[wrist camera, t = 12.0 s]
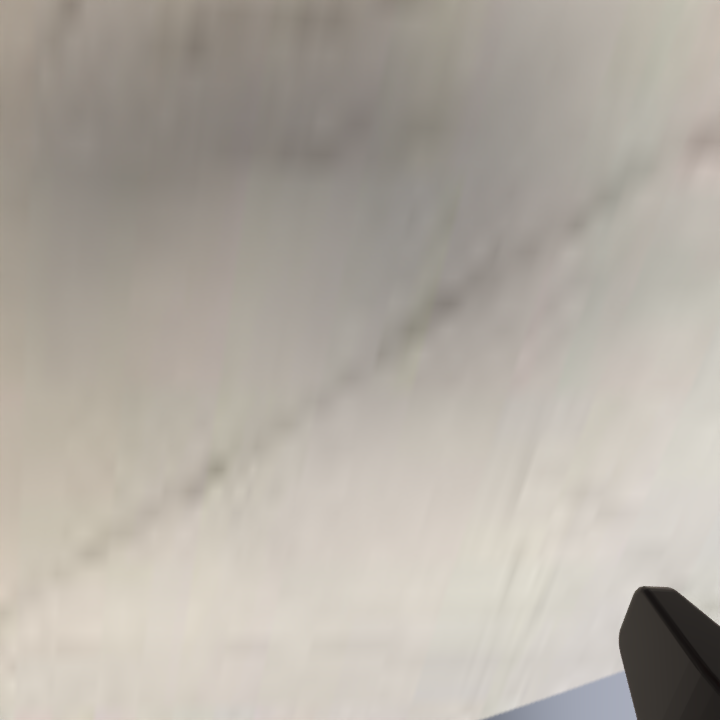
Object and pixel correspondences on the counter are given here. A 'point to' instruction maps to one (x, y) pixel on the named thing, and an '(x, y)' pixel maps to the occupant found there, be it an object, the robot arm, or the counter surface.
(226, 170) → the counter surface
